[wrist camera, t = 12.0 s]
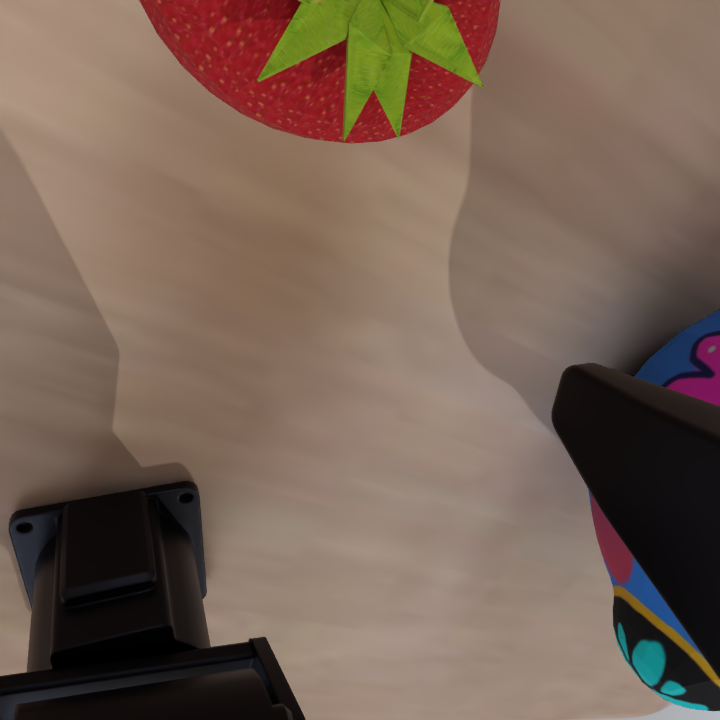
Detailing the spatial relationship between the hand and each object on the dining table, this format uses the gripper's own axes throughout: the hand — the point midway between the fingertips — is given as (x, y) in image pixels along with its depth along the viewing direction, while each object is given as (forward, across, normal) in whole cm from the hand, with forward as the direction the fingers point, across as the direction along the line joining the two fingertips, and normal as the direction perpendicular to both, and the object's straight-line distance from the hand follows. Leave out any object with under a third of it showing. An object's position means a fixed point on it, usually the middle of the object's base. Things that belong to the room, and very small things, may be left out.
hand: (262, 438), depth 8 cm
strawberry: (+13, -3, -5) cm, 14 cm away
